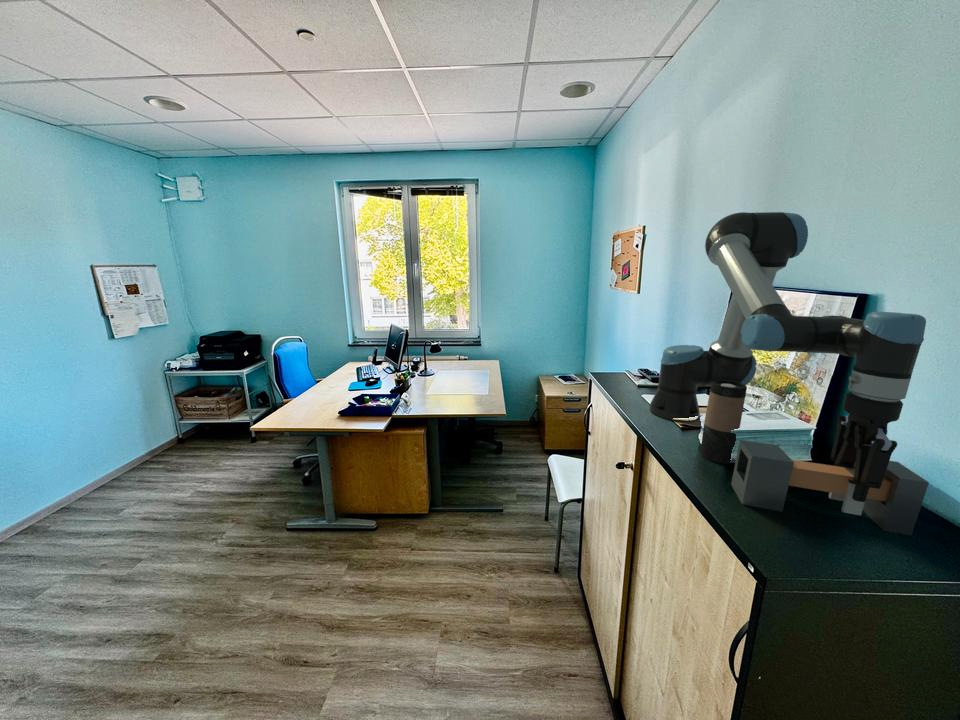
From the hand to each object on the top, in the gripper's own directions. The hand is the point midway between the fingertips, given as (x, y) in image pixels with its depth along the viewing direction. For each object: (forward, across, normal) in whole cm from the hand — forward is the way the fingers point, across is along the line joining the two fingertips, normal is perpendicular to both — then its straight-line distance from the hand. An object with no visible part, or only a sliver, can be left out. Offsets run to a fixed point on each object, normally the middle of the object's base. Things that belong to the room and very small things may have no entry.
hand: (844, 505), depth 76 cm
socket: (+2, 0, +6) cm, 7 cm away
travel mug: (+2, -18, -18) cm, 26 cm away
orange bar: (-3, 0, -4) cm, 5 cm away
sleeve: (+2, 0, -15) cm, 15 cm away
